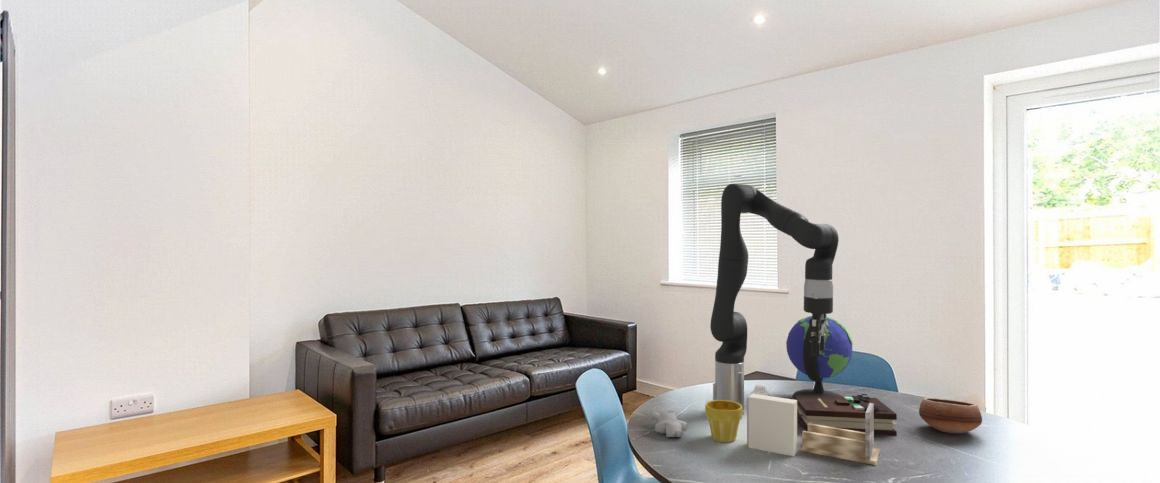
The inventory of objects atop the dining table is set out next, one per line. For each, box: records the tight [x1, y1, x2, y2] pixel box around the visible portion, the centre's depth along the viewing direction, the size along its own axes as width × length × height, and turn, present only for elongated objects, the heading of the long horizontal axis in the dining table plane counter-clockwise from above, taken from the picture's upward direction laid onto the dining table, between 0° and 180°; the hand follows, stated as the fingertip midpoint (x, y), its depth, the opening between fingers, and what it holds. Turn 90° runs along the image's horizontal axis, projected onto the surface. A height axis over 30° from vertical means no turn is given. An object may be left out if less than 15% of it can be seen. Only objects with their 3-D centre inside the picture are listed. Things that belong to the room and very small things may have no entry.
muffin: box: [750, 384, 771, 396], centre depth 195 cm, size 6×6×7 cm
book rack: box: [801, 403, 881, 466], centre depth 152 cm, size 18×10×13 cm, turn 57°
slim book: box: [746, 393, 798, 457], centre depth 154 cm, size 12×4×14 cm, turn 57°
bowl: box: [918, 397, 983, 434], centre depth 167 cm, size 16×16×10 cm
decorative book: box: [793, 393, 898, 437], centre depth 175 cm, size 19×8×30 cm
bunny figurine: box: [650, 410, 688, 438], centre depth 169 cm, size 10×5×15 cm
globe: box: [785, 315, 854, 399], centre depth 202 cm, size 22×22×30 cm
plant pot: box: [704, 399, 743, 443], centre depth 163 cm, size 10×10×10 cm
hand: (817, 353), depth 157 cm, fingers open, 8 cm apart
